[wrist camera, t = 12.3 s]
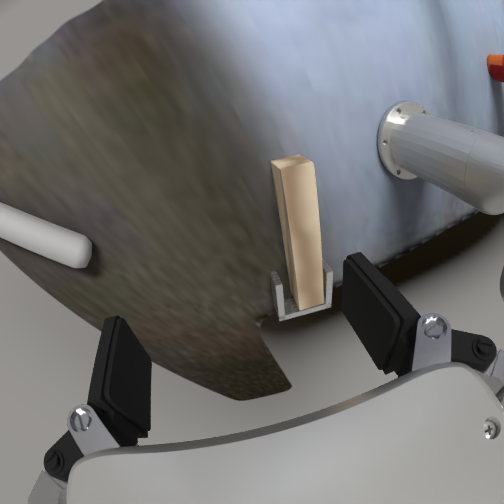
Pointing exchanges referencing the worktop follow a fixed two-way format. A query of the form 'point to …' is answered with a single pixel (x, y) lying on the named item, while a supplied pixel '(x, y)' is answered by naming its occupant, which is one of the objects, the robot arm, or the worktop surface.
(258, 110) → the worktop surface
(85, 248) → the tube
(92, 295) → the worktop surface
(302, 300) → the maple rail
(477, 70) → the worktop surface
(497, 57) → the coffee cup
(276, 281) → the cup bracket
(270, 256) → the worktop surface
